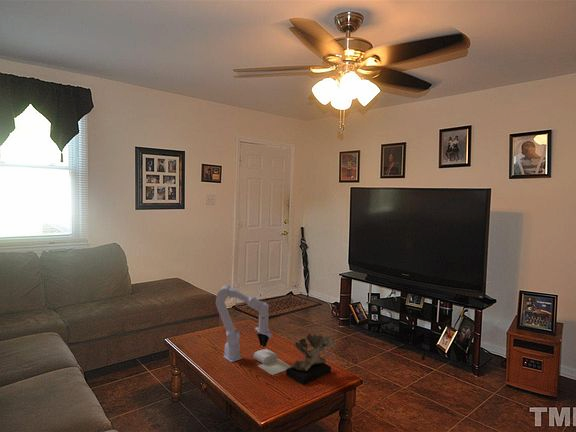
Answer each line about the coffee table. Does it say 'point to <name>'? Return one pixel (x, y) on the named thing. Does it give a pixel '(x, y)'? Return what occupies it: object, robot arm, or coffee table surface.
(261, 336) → the robot arm
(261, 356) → the photo printer
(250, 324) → the coffee table surface
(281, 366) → the mat
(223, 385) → the coffee table surface
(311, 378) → the coral
